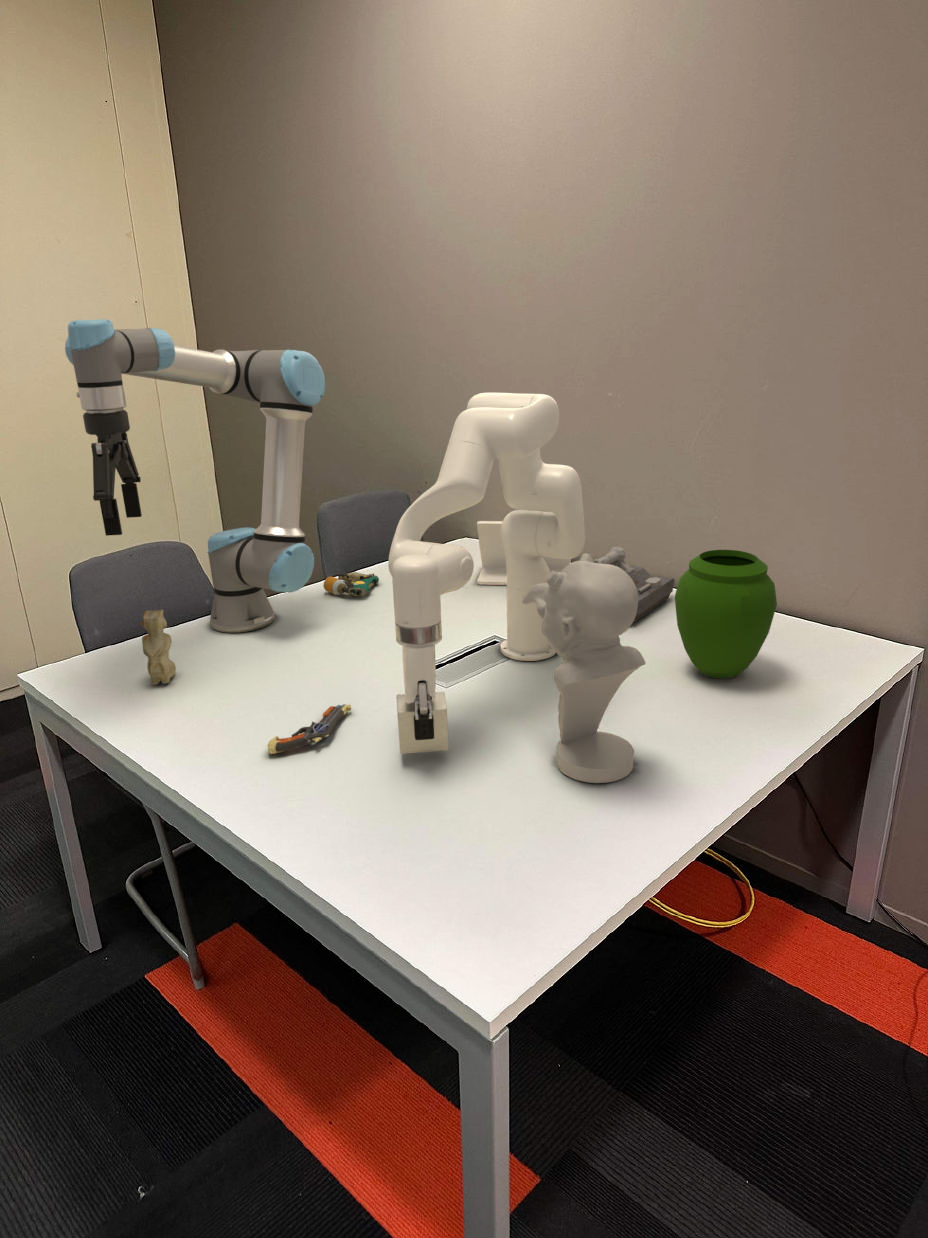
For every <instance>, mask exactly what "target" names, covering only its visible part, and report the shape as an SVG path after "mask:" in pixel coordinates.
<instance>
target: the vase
mask: <svg viewBox="0 0 928 1238" xmlns="http://www.w3.org/2000/svg"><path fill="white" fill-rule="evenodd" d="M768 567H769V566H768V565H767V564H766V563H765V562H764V561H763V560H762V559H761V558H759V557H758V556H756V555H755V554H753V553H750V552H747V551H742V550H735V549H713V550H706V551H703V552H702V553H700V554H698V555H697V556H695V557H694V558H692V559H690V560H689V562H688V569H687V570H686V571H684V573H683V574H682V575H681V576H680V577H679V580H678V583H677V587H676V590H675V594H674V604H675V605H674V607H675V617H676V624H677V629H678V631H679V635H680V638H681V641H682V646H683V648H684V650H685V653H686V655H687V657H688V658H689V660H690V662H691V663H692V665H693V666H694V667H695V669H696V670H697V671H698V672H699V673H700V674H702V675H704V676H706V677H709V678H713V679H718V680H719V679H722V680H725V679H732V678H735V677H739V676H740V675H741V674H742V673H743V672H745V670H747V669H748V668H749V666H751V664H752V663H753V662H754V660H755V659H756V658H757V657H758V655H759V653H760V650H761V649H762V647H763V645H764V643H765V641H766V640H767V638H768V635H769V633H770V630H771V627H772V623H773V619H774V616H775V612H776V610H777V605H778V601H777V600H778V599H777V593H776V585H775V582H774V581H773V579H772V578H771V577H770V576H769V574H768V569H769V568H768Z"/></svg>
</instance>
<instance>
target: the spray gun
mask: <svg viewBox="0 0 928 1238" xmlns="http://www.w3.org/2000/svg"><path fill="white" fill-rule="evenodd" d="M379 581H380V578H379V576H378V575H375V573H369V574H365V573H360V572H356V571H354V572H353V571H352V572H341V573H339V574H338V575H337V577H334V576H328V577H326V578H325V579H324V581H323V590H325V592H328V593H329V594H332V595H336V596H340V595H344V594H347V595H348V596H351V597H352V596H354V597H366V596H367V594H368V593H369V592H370V591H371V588H372V587H373V586H374V585H377V584H378V583H379Z"/></svg>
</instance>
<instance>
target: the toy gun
mask: <svg viewBox="0 0 928 1238" xmlns="http://www.w3.org/2000/svg"><path fill="white" fill-rule="evenodd" d="M351 711H352V705H351V704H345V703H343V704H342V705H340V704H337V705H332V706H329V707H328V708H327V709H326V710H325V711H324V712H323V713H322V719H321V720H319V721H318V722H315V721H311V724H310V725H309V726H303V727H300V728H299V729H298V730H297V731H296V732H294V733H292V734H291V736H289V737H284V738H283V737H282V738H280V737H279V736H278V735H276V736H274V737H272V738H271V739H270V740H269V741H268V743H267V750H268V753H269V754H270V755H275V754H277V753H283V752H286V751H290V750H293V749H296V748H300V747H303V746H306V745H310V744H312V743H315V744H317V743H318V742H320V741H321V740H323V739H326V738H327V737H329V736H330V735H331V733H332V732H333V731H334V729H335V727H336V725H337V724H338V723H339V721H340V720H341V719H342V718H343V717H344V716H345V715H346V714H347V713H348V712H351Z"/></svg>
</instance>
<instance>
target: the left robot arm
mask: <svg viewBox="0 0 928 1238" xmlns="http://www.w3.org/2000/svg"><path fill="white" fill-rule="evenodd" d="M64 351H65V355H66V358H67V360H68V361H69V362H70V364H71V365H72V366H73V369H74V374H75V379H76V386H77V390H78V392H76V394H75V396H76V397H77V398H78V399H79V400H80V407H81V410H83V411H85V412H84V413H83V414H82V419H83V424H84V429H85V430H84V431H85V433H86V434H88V435H90V436H96V438H97V442H92V443H91V444H90V447H91V453H92V473H93V474H92V481H93V495H92V499H93V501H94V502H96V501H99V506H100V512H101V517H102V521H103V528H104V533H105V534H104V535H105V536H107V537H108V536H122V535H123V530H122V529H123V528H122V524H121V519H120V513H119V506H118V501H117V500H118V499H117V498H115V484H116V483H115V482H116V472H117V475H118V476H119V478H120V480H121V482H122V483H121V484H120V486H121V487H120V488H121V493H122V499H123V504H124V510H125V516H126V518H127V519H129V518H141V517H143V516H142V509H141V503H140V497H139V491H138V485H137V483H141V482H142V481H141V480H142V479H141V476H140V473H139V471H138V467H137V465H136V461H135V459H134V455H133V452H132V449H131V446H130V444H129V439H128V434H127V432H129V431H130V429H131V425H130V419H129V414H128V411H127V410H126V409H124V408H126V407H127V400H126V394H125V388H124V384H123V382H124V381H123V376H122V375H126V376H133V377H139V378H146V379H154V380H159V381H166V382H172V383H178V384H186V385H192V386H197V387H203V388H209V389H210V391H211V392H213V393H215V394H218V395H219V394H220V395H225V396H229V397H233V398H237V399H242V400H245V401H249V402H254V403H258V404H259V410H260V411H261V413H262V414H263V415H264V416H265V419H266V420H265V437H264V438H265V441H264V459H263V477H262V478H263V480H262V498H261V499H262V501H261V517H260V525H258V527H256V528H254V527H238V528H232V529H226V530H223V531H218V532H216V533H214V534H212V535H210V536H209V538H208V539H207V550H208V551H207V554H208V561H209V568H210V573H211V574H210V575H211V581H212V587H213V594H214V595H213V602H212V607H211V610H209V614H210V616H209V617H210V618H209V619H210V626H211V628H212V629H213V630H215V631H217V632H221V633H231V634H232V633H233V634H238V633H248V632H253V631H257V630H260V629H263V628H265V627H267V626H269V625H271V624H272V623H273V622H274V621H275V611H274V609H273V606H272V604H271V602H270V600H269V598H268V596H267V594H266V592H265V590H264V589H266V590H269V591H273V592H275V593H287V594H288V593H290V594H291V593H296V592H298V591H300V590H301V589H302V588H303V587H304V586H306V583H308V582H309V580H310V579H311V577H312V574H313V571H314V568H315V556H314V553H313V552H312V551H313V550H312V549H311V547H309V546H308V545H307V544H305V543H306V533H305V532H304V531H302V529H301V527H300V515H301V498H302V481H303V464H304V448H305V433H306V431H305V430H306V429H305V428H306V422H307V420H308V419H310V418H311V417H312V416H313V410H314V406H316V405H317V404H319V403H320V402H321V401H322V398H323V397H324V395H325V391H326V380H325V379H326V378H325V373H324V371H323V368H322V366H321V365H320V364H319V361H318V359H317V358H316V357H315V356H314V355H312V354H311V353H310V352H308V351H303V350H297V349H251V350H228V349H227V350H226V349H219V348H218V349H215V350H213V351H206V350H201V349H196V348H192V347H186V346H182V345H176V344H175V343H174V340H173V339H172V337H171V335H170V334H169V333H168V332H167V331H166V330H164V329H162V328H159V327H158V328H151V327H144V328H120V329H118V328H117V329H115V328H114V323H113V322H112V320H110V319H108V318H107V319H106V318H104V319H103V318H102V319H77V320H76V319H75V320H71V321H70V322H69V323H68V324H67V338H66V340H65V343H64Z"/></svg>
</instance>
